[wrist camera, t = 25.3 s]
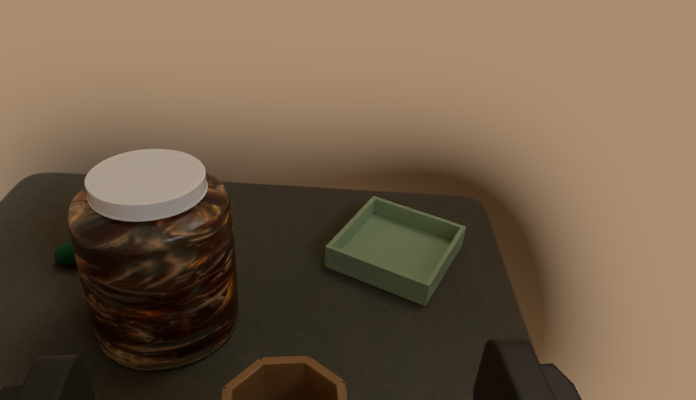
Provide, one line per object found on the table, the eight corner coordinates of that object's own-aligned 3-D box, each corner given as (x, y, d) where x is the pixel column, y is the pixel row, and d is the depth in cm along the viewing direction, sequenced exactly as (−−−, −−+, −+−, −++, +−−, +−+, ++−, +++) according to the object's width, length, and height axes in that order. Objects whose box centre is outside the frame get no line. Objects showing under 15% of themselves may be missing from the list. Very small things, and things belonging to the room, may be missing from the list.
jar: (181, 260, 57) (164, 124, 49) (264, 316, 51) (260, 173, 43) (70, 324, 49) (26, 175, 41) (152, 399, 43) (121, 243, 35)
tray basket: (462, 245, 62) (466, 226, 60) (425, 306, 53) (429, 286, 52) (371, 214, 66) (373, 195, 64) (324, 266, 57) (325, 246, 56)
